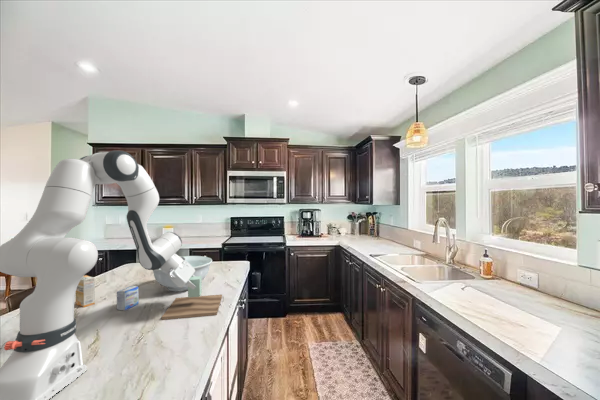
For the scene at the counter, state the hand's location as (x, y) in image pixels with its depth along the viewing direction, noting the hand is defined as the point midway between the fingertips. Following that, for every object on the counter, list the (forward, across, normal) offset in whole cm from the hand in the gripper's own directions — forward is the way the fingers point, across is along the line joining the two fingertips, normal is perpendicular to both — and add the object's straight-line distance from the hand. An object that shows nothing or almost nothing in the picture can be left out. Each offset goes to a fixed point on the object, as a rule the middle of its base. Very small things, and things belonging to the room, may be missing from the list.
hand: (196, 285), depth 121 cm
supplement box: (-31, +15, +45) cm, 57 cm away
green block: (+3, 0, +4) cm, 4 cm away
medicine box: (-15, +7, +30) cm, 34 cm away
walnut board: (+6, 0, +8) cm, 10 cm away
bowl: (-2, +32, +17) cm, 36 cm away
